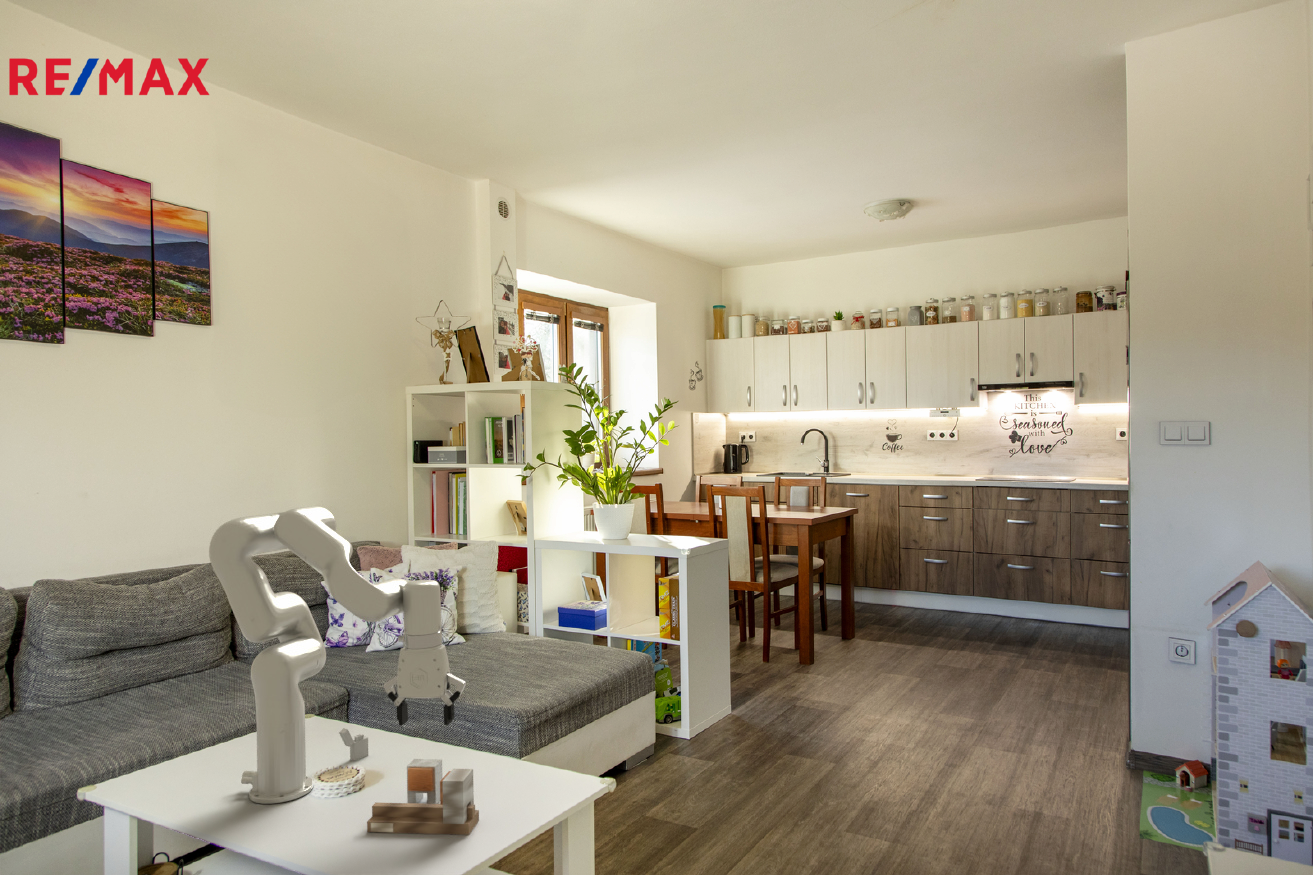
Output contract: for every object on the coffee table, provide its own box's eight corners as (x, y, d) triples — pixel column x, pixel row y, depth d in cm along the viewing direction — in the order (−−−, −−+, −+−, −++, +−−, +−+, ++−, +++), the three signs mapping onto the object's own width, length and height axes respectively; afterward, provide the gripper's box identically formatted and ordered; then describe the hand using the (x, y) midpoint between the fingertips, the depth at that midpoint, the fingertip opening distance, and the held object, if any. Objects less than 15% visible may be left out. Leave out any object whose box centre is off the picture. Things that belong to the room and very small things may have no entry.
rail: (366, 832, 157) (366, 779, 157) (380, 818, 163) (380, 767, 163) (468, 835, 155) (467, 781, 155) (479, 820, 161) (478, 769, 161)
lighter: (363, 754, 198) (363, 720, 199) (368, 755, 198) (368, 721, 198) (339, 764, 192) (338, 729, 193) (344, 765, 192) (343, 730, 192)
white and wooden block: (415, 797, 173) (414, 759, 173) (442, 797, 172) (442, 759, 172) (406, 807, 168) (405, 767, 168) (434, 807, 168) (433, 768, 168)
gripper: (375, 645, 168) (378, 729, 168) (457, 644, 166) (460, 729, 166) (390, 637, 176) (393, 717, 175) (469, 635, 174) (472, 717, 174)
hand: (425, 723), depth 171 cm, fingers open, 9 cm apart
